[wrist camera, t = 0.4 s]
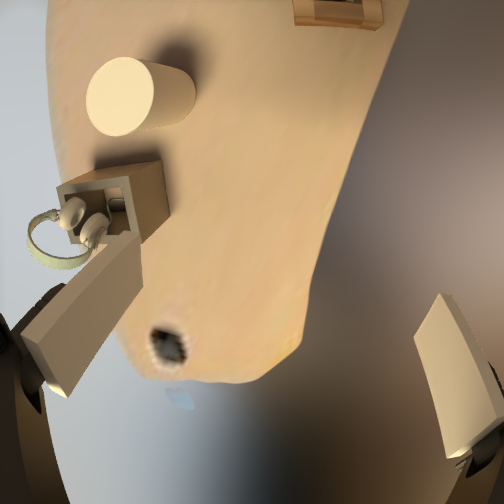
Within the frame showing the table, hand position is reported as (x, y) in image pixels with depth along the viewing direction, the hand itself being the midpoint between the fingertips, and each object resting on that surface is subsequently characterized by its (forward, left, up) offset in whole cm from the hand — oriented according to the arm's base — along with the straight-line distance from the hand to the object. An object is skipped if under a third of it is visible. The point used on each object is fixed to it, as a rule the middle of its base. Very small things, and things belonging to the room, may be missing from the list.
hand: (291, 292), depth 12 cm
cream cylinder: (-10, -16, -27) cm, 34 cm away
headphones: (+3, -24, -27) cm, 37 cm away
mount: (-23, +6, -27) cm, 36 cm away
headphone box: (+3, -24, -27) cm, 36 cm away
